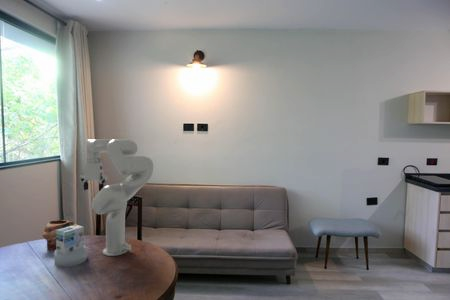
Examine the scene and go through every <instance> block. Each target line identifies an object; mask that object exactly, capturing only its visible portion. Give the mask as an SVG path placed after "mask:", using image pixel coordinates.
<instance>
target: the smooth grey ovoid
mask: <svg viewBox="0 0 450 300" xmlns="http://www.w3.org/2000/svg"><path fill="white" fill-rule="evenodd" d="M53 253H54V265H55V266H56V267H59V268H70V267H75V266H78V265H79V266H80V265H81V264H83V263H85V262H86V261H87V259H88V256H87V246H86V245H85V244H84V247H83V248H80V249H78V250H75V251H72V252H69V253H66V254H62V253H59V252H57V251H56V250H54V251H53Z"/></svg>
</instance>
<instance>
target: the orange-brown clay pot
mask: <svg viewBox="0 0 450 300" xmlns="http://www.w3.org/2000/svg"><path fill="white" fill-rule="evenodd" d="M74 223H75V222H74V221H72V220H70V221H69V220H65V219H61V220H60V219H59V220H58V219H57V220H56V219H55V220H51V221H49V222H48V223H47V224H46V226H45V228H44V230H43V231H42V238H43V239H45V240H46V248H47V249H48V250H54V251H55V250H56V230H58V229H62V228H65V227H69V226H72V225H75V224H74Z"/></svg>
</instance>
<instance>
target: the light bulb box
mask: <svg viewBox="0 0 450 300" xmlns="http://www.w3.org/2000/svg"><path fill="white" fill-rule="evenodd" d="M84 230H85V227H84V226H81V225H78V224H74V225H72V226H69V227H65V228H62V229H58V230H56V251H57V252H59V253H62V254H66V253H69V252H72V251H75V250H78V249H80V248H83V247H84V245H85V242H84V241H85V240H84V239H85V237H84V234H85V233H84V232H85V231H84Z"/></svg>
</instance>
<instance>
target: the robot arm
mask: <svg viewBox="0 0 450 300" xmlns="http://www.w3.org/2000/svg"><path fill="white" fill-rule="evenodd" d="M85 143H86V146H85V147H86V148H85V149H86V151H85V152H86V156H85V157H86V159H85V160H86V162H85V164H84V170H83V173H82V174H80V175H79V178H80V180H81V182H82V184H83V190H84V191H86V190H89V181H94V182H95V181H97V182H98V183H99V184H98V191H99V192H98V193H97V194H96V195H95V196H94V197H93V200H92V202H91V210H92V212H94V213H95V214H96V215H104V214H105V215H106V214H107V216H106V218H105V219H106V220H105V247H104V249H103V250H102V254H103V255H104V256H108V257H115V256H121V255H123V254H125V253H127V252H128V251H131V250H132V245H130V244H128V243H127V241H126V212H127V211H126V210H127V205H128V201H130V199H131V198H133V197H134V196H135V195H136V193H138V191H140V189H141V188H143V187H144V186H145V185H146V184H147V183H148V182H149V181H150V179H151V178H152V175H153V173H154V162H153V161H152V159H151V158H150V157H147V156H142V155H141V156H140V155H138V156H134V155H136V153H137V152H138V147H139V146H138V144H137V143H136V142H135V141H134V140H130V139H123V138H122V139H119V138H117V139H116V138H114V139H112V138H111V139H110V138H108V139H107V138H101V139H100V138H99V139H98V138H97V139H95V138H94V139H93V138H92V139H87V140H86V142H85ZM103 153H107V155H108V157H109V159H110V161H111V163H112V164H113V166H114V168H115V169H116V171H117V172H118V174H120V175H123V176H127V175H128V176H127V177H126V178H125V179H124V180H123V181H122V182H119V183H113V184H107V185H105V183H106V182H107V180H108V178H109V177H108V175H106V174H104V173H105V171H104V165H103V163H102V162H103V159H102V154H103Z"/></svg>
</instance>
